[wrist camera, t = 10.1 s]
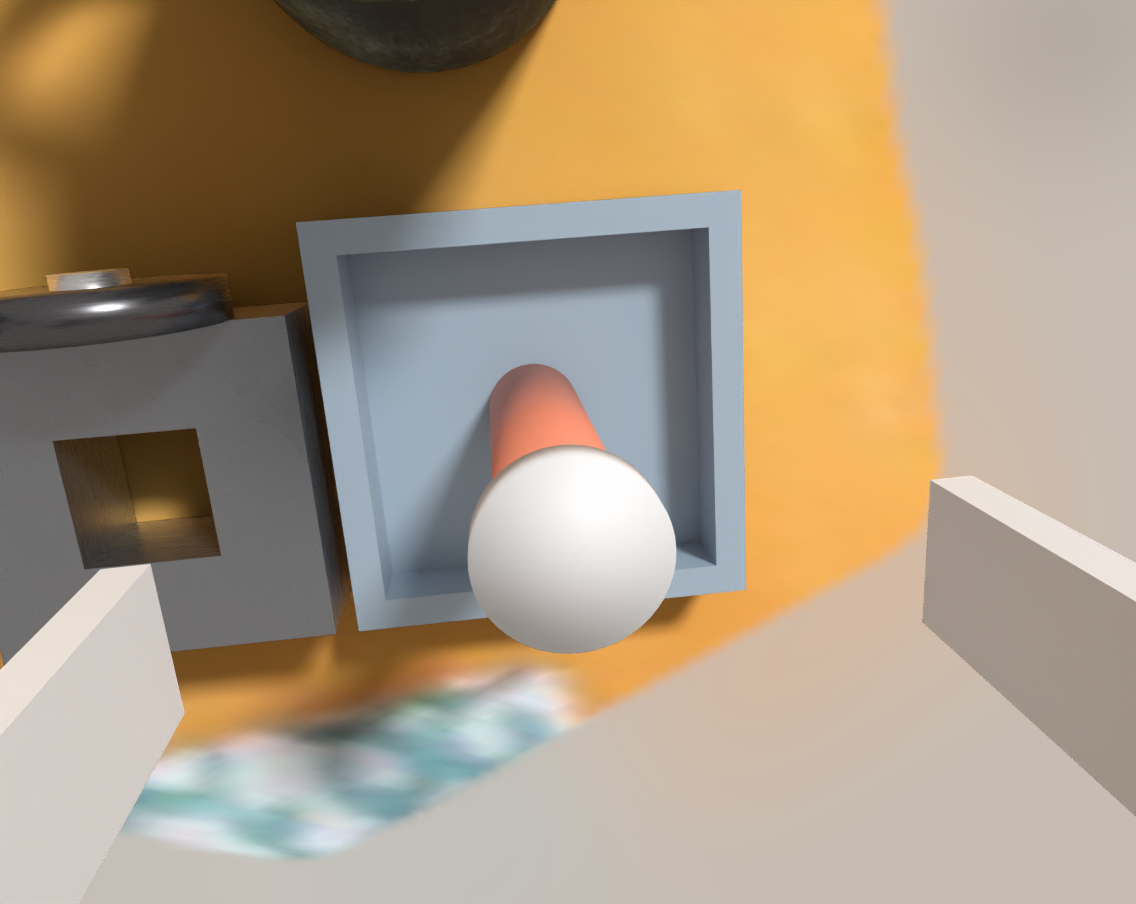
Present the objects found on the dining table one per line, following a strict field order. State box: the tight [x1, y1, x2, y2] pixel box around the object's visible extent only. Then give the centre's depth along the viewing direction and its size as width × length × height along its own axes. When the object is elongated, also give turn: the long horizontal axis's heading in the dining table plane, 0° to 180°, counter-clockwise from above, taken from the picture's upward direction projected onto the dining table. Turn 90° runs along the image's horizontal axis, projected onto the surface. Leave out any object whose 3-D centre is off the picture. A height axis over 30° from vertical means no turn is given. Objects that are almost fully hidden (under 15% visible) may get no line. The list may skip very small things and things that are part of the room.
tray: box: [296, 190, 746, 631], centre depth 28 cm, size 13×13×3 cm
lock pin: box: [468, 364, 676, 654], centre depth 22 cm, size 4×4×13 cm
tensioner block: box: [0, 268, 352, 666], centre depth 25 cm, size 10×12×8 cm
